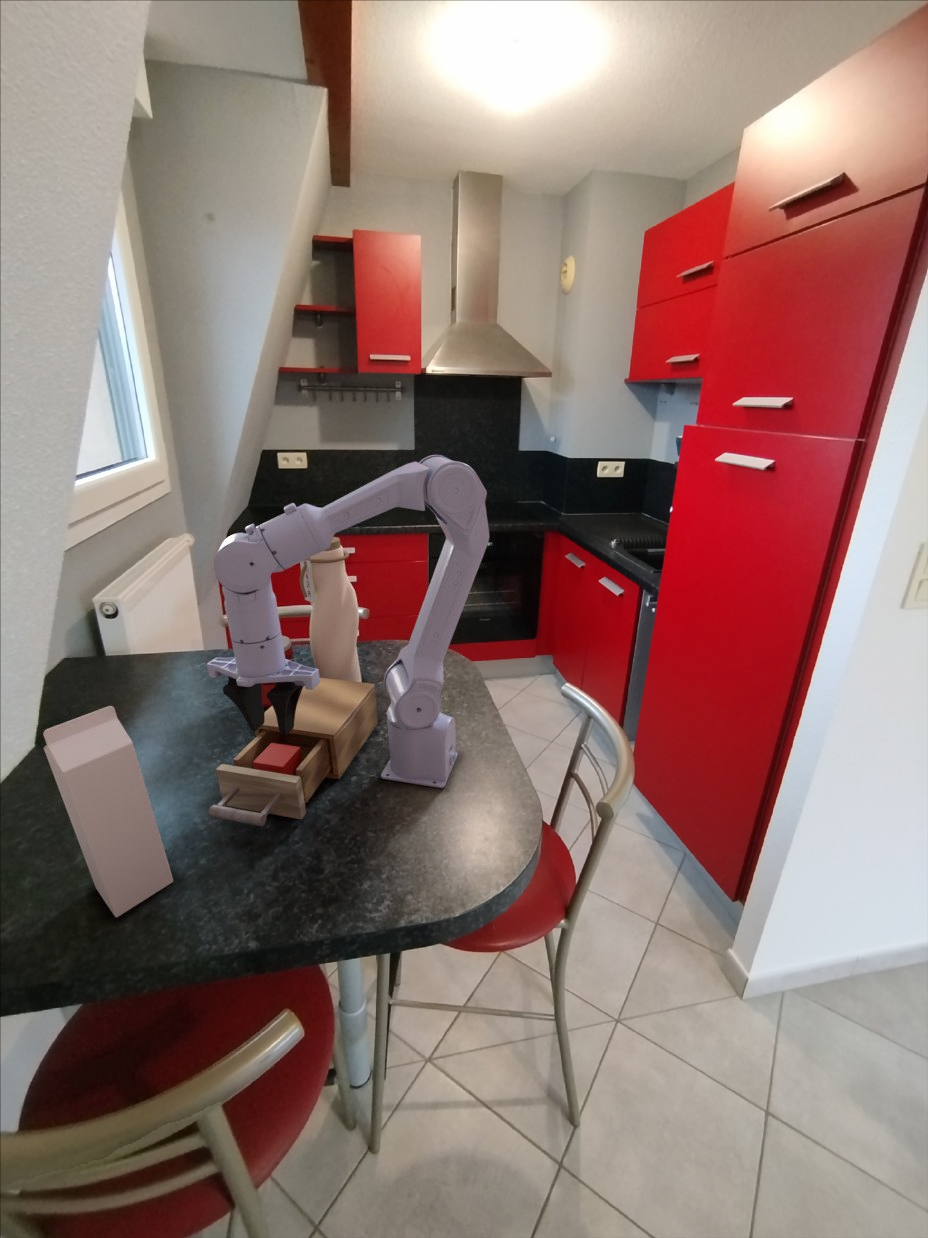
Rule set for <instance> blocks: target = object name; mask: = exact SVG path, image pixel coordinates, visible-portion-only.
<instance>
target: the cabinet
mask: <svg viewBox="0 0 928 1238" xmlns="http://www.w3.org/2000/svg"><path fill="white" fill-rule="evenodd" d="M377 709H378V708H377V696H376V684H375V683H370V682H353V681H345V680H336V679H327V678H320V683H319V684H318V685H317V686H316V687H315V688H314V689H313V690H309V689H305V686H304V687H303V689H302V691H301V694H300V697H299V700H298V703H297V707H296V712H295V720H294V728H293V729H292V730H291V731H290V732H289V733H292V734H299V735H306V736H313V737H320V738H327V739H329V742H330V750H331V758H332V766H333V768H332V769H331V770H330V772H329V773H328V774H327V776H326V777H325V778H328V779H333V780H334V779H335V780H340V779H341V778H342V776H343V774H344V773H345V772H346V770H347V769H348V767H349V766H350V764H351V763H352V762H353V760H354V759H355V757H356V756H357V755H358V753H359V752H360V750H361V749H362V747H363V746H364V745H365V743H366V742H367V740H368V739H369V737H370V736H371V735H372V733H373V732H374V730H375V728H377V725H378V724H379V720H378V710H377ZM264 717H265V720H264V724H263V725H262V726H261V727H260V728H258V729H257V730H256V731H253V732H254V738H256V737H257V736H258V735H259V734H260V733H261V732H262V731H263V730H271V731H278V732H280V731H279V727H278V722H277V717H276V714H275V711H274V708H273V706H271V707H270V708H267V710H266V711H264Z"/></svg>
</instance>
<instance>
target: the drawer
mask: <svg viewBox="0 0 928 1238" xmlns="http://www.w3.org/2000/svg"><path fill="white" fill-rule="evenodd" d="M271 743H276V744H283V745H289V746H296V747H300V750H301V757H302V763H301V764H300V765H299V767H298V768H297V769H296V774H297V776H293V775H287V774H281V773H275V772H268V771H262V770H256V769H254V766H253V761H254V760H255V759H256V758H257V757H258V756H259V755H260V754H261V753H262V752H263V751H264V750H265V749H266V748H267V747H268V746H269V745H270V744H271ZM232 762H233V765H231V764H225V763H221V764H220V765H219V766H217V768H215V773H216V777H217V782H218V787H219V789H220V795H221V800H220V801H219V802H218V803H217V804H212V805H211V806H209V809H208V817H210V818H214V819H220V820H225V821H231V822H235V823H236V822H237V823H241V824H247V825H251V826H258V827H263V826H264V825H266V822H267V817H268V815H269V814H271V815H276V816H279V817H280V816H281V817H287V818H291V819H297V820H303V818H304V817H305V816H306V814H307V808H306V804H307V803H308V801H309V800H310V799H311V797H312V796H313V795H314V793H315V792H316V791H317V789H318V788H319V786H321V784H322V783H323V781H324V780H325V778H327V777H326V776H327V774H328V773H329V772H330V770H331V769H332V768H333V766H332V758H331V750H330V742H329V739H327V738H320V737H313V736H306V735H299V734H292V733H288V734H287V735H286V736H285V735H281V733H280V732H278V731H271V730H263V731H262V732H261V733H260V734H259V735H258V736H257V737H254V738H253V740H251V741H250V742H249V743H248V744H247V745H246V746H245V747H244V748H243V749H242V750H241V751H240V752H239V753H238V754H237V755H235V757H234V758H233V759H232Z"/></svg>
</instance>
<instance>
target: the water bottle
mask: <svg viewBox="0 0 928 1238" xmlns="http://www.w3.org/2000/svg"><path fill="white" fill-rule="evenodd" d="M349 556H350V553H349V552H348V551H346V550H344V547H343V546H342V545H341V539H340V537H338V536H337V537H336V536H333V538H332V542H331V545H330V547H329V548H328V549H326V550H324V551H322V552H320V553H318V554H316V555H314V556H312V557H310V558H308V559H306V560H304V561H302V562H300V563H299V564H300V565H299V566H300V576H299V585H300V590H301V594H302V595H303V598H304V601H307V602H309V603H310V605H311V612H310V618H309V643H310V645H309V646H310V653H311V656H312V660H313V661H312V662H313V663H314V668H316V669H319V676H320V678H327V679H336V680H345V681H353V682H362V681H363V680H362V674H361V673H362V672H361V668H360V661H359V654H358V648H357V642H358V641H357V640H358V633H359V623H360V613H359V603H358V598H357V594H356V591H355V588H354V587H353V585H352V583H351V580H350V579H349V576H348V574H347V571H346V563H345V560H346V559H348V558H349ZM362 683H363V682H362Z"/></svg>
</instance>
